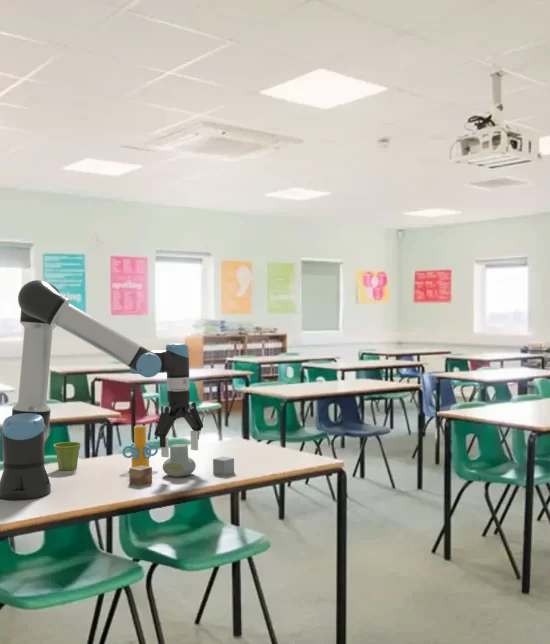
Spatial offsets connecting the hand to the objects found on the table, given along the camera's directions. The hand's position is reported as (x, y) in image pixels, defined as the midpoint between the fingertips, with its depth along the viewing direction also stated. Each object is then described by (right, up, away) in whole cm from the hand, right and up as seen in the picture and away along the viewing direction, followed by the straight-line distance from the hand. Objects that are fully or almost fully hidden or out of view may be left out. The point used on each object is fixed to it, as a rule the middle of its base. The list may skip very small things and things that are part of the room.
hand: (180, 453), depth 235 cm
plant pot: (-41, -8, +11) cm, 43 cm away
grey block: (+14, -7, +2) cm, 16 cm away
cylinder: (-15, -8, +9) cm, 19 cm away
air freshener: (0, -8, 0) cm, 8 cm away
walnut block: (-11, -8, -11) cm, 17 cm away
